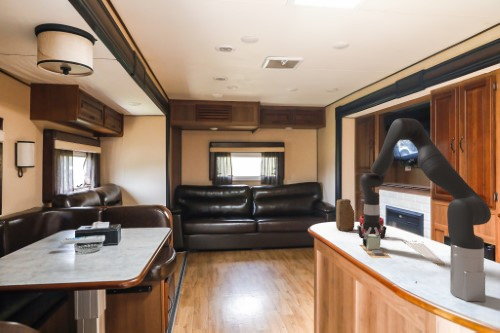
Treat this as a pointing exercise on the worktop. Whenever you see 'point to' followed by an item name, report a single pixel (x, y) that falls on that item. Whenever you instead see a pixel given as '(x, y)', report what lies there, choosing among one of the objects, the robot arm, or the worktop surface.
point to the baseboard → (426, 252)
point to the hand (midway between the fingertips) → (371, 246)
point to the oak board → (373, 254)
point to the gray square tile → (377, 252)
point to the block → (344, 215)
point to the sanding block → (372, 242)
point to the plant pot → (363, 223)
